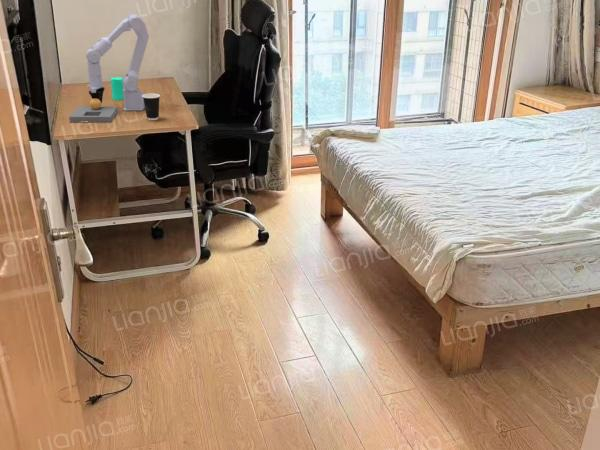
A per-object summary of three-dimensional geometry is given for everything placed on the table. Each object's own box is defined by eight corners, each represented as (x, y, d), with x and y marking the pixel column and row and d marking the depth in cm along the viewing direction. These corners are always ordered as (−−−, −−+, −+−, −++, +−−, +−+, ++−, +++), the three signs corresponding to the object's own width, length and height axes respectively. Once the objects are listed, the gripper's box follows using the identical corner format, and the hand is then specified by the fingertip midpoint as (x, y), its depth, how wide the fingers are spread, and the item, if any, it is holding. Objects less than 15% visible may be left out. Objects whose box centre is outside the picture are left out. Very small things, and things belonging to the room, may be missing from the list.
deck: (117, 111, 291) (117, 106, 290) (110, 122, 275) (110, 117, 274) (79, 111, 289) (78, 106, 288) (70, 122, 273) (69, 116, 272)
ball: (102, 107, 288) (101, 96, 285) (100, 110, 283) (99, 100, 281) (91, 107, 287) (90, 97, 285) (89, 110, 283) (88, 100, 281)
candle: (112, 100, 311) (110, 76, 305) (112, 97, 316) (110, 74, 311) (124, 99, 312) (122, 76, 307) (124, 97, 317) (122, 74, 312)
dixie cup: (142, 120, 278) (140, 97, 274) (146, 116, 286) (144, 93, 281) (159, 121, 278) (157, 97, 274) (163, 116, 286) (161, 93, 281)
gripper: (89, 72, 291) (93, 100, 296) (82, 78, 278) (86, 108, 283) (104, 72, 291) (107, 100, 297) (98, 79, 278) (101, 108, 284)
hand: (98, 104), depth 290 cm, fingers open, 5 cm apart
